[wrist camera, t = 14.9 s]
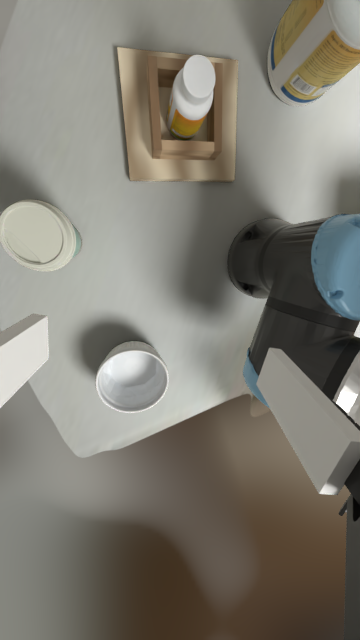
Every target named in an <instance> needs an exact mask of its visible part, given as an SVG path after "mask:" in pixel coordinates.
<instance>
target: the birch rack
mask: <svg viewBox="0 0 360 640" xmlns="http://www.w3.org/2000/svg"><path fill="white" fill-rule="evenodd" d="M117 50H118V61H119V71H120V82H121V92H122V102H123V112H124V123H125V133H126V143H127V154H128V164H129V174H130V181H208V182H232V181H234V180H235V155H236V120H237V84H238V60H232V59H223V58H214V57H206V58H207V59H208V60H209V61H210V62H211V64H212V65H213V68H214V71H215V86H214V89H213V101H212V105H211V107H210V110H209V111H208V113H207V115H206V117H205V119H204V121H203V123H202V125H201V127H200V129H199V131H198V132H197V134H196V135H195V137H194V138H192V139H191V140H189V141H180V140H177V139H176V138H175V137H173V136H172V134H171V133H170V131H169V129H168V127H167V122H166V115H167V109H168V105H169V101H170V96H171V92H172V88H173V83H174V80H175V78H176V76H177V74H178V73H179V71H180V70H181V69H182V68H184V65H185V63H186V61H187V60H188V59H189V58H190V57H191V56H193V55H186V54H176V53H167V52H157V51H148V50H139V49H129V48H120V47H117Z"/></svg>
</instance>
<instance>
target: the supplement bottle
mask: <svg viewBox="0 0 360 640" xmlns="http://www.w3.org/2000/svg"><path fill="white" fill-rule="evenodd" d="M214 86H215V71H214V68H213V65H212V64H211V62H210V61H209V60H208V59H207V58H206V57H205V56H203V55H193V56H191V57H190V58H189V59H188V60H187V61H186V63H185V65H184V68H182V69H181V70H180V71H179V73H178V74H177V76H176V78H175V80H174V83H173V88H172V92H171V96H170V101H169V105H168V109H167V115H166V122H167V127H168V129H169V131H170V133H171V134H172V136H173V137H175V138H176V139H177V140H180V141H189V140H191V139H192V138H194V137H195V135H196V134H197V132H198V131H199V129H200V127H201V125H202V123H203V121H204V119H205V117H206V115H207V113H208V111H209V110H210V107H211V105H212V101H213V89H214Z"/></svg>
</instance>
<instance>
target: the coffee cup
mask: <svg viewBox="0 0 360 640" xmlns="http://www.w3.org/2000/svg"><path fill="white" fill-rule="evenodd" d="M0 243H1V245H2V246H3V248H4V250H5V251H6V252H7V253H8V254H9V255H10V256H11V257H12V258H13V259H14V260H15V261H16V262H18V263H19V264H21V265H23V266H24V267H27V268H29V269H32V270H36V271H44V272H47V271H54V270H57V269H60V268H61V267H63V266H65V265H66V264H67V263H68V262H69V261H70V260H71V258H73V257H74V256H76V255H77V254H78V253H79V252H80V250H81V247H82V239H81V236H80V234H79V232H78V231H77V230H76V228H75V227H74V226H73V225H72V224H71V223H70V221H69V219H68V218H67V217H66V216H65V215H64V213H63V212H61V211H60V210H59V209H58V208H56V207H55V206H53V205H51V204H49V203H47V202H44V201H40V200H31V199H28V200H21V201H18V202H15V203H13V204H12V205H10V206H9V207H7V208H6V209H5V210H4V211H3V213H2V214H1V216H0Z"/></svg>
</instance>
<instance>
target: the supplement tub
mask: <svg viewBox="0 0 360 640" xmlns="http://www.w3.org/2000/svg"><path fill="white" fill-rule="evenodd" d="M359 63H360V0H293V1H292V2H291V4H290V6H289V7H288V9H287V10H286V12H285V14H284V15H283V17H282V19H281V20H280V21H279V23H278V24H277V26H276V28H275V31H274V33H273V36H272V39H271V42H270V46H269V51H268V59H267V67H268V76H269V80H270V84H271V87H272V89H273V91H274V92H275V94H276V95H277V96H278V97H279V98H280V99H281V100H282V101H283V102H285V103H286V104H289V105H291V106H304V105H308V104H310V103H312V102H314V101H316V100H317V99H319V98H320V97H321V96H322V95H323V94H324V93H325V92H326V91H327V90H329V89H330V88H331V87H332V86H333V85H334V84H336V83H337V82H338V81H339V80H340V79H341V78H343V77H344V76H345V75H346V74H347V73H348V72H350V71H351V70H352V69H353V68H354V67H355V66H357V65H358V64H359Z"/></svg>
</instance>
